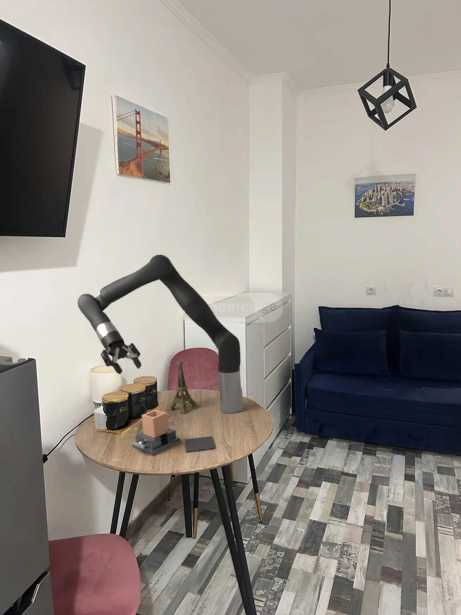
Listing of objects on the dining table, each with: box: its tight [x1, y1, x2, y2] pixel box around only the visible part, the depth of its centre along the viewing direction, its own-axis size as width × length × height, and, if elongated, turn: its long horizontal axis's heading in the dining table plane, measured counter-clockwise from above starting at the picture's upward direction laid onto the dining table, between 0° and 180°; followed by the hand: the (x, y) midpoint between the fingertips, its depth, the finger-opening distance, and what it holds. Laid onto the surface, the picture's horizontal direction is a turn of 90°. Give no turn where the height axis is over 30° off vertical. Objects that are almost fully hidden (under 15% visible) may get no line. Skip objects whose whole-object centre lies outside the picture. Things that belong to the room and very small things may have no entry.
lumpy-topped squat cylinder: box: [93, 404, 107, 430], centre depth 184 cm, size 10×13×9 cm
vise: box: [131, 415, 181, 457], centre depth 162 cm, size 15×11×10 cm
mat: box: [184, 435, 216, 454], centre depth 161 cm, size 10×10×1 cm
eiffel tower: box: [166, 355, 201, 416], centre depth 197 cm, size 11×11×25 cm
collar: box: [141, 409, 169, 438], centre depth 162 cm, size 6×6×7 cm
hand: (130, 370), depth 167 cm, fingers open, 8 cm apart
